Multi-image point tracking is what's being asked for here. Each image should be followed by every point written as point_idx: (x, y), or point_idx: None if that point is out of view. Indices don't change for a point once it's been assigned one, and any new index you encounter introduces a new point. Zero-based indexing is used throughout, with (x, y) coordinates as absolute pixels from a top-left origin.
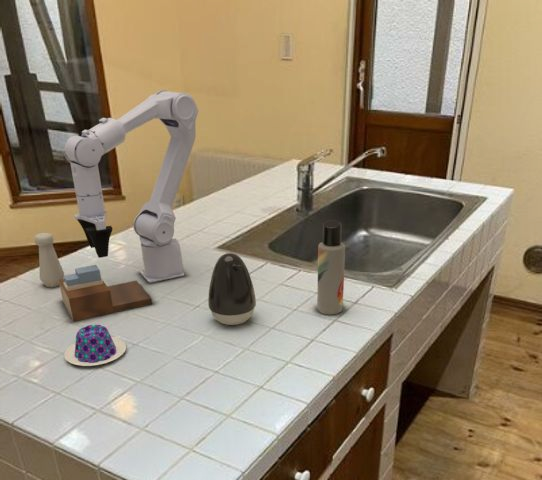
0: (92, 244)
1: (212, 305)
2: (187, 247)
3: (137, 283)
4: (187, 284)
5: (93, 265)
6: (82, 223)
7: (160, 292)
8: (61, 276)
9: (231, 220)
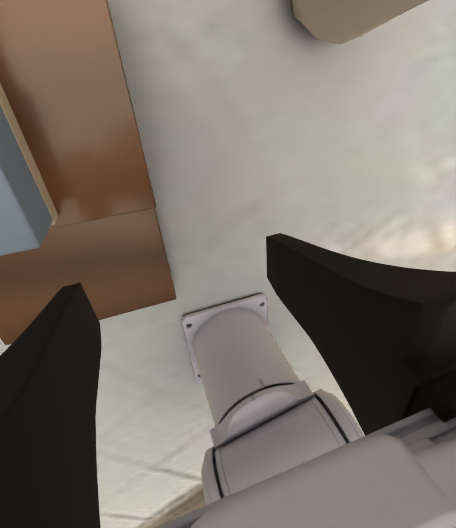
0: (274, 255)
1: None
2: None
3: (149, 302)
4: (144, 389)
5: (24, 233)
6: (392, 315)
7: (107, 342)
8: (307, 24)
9: None
